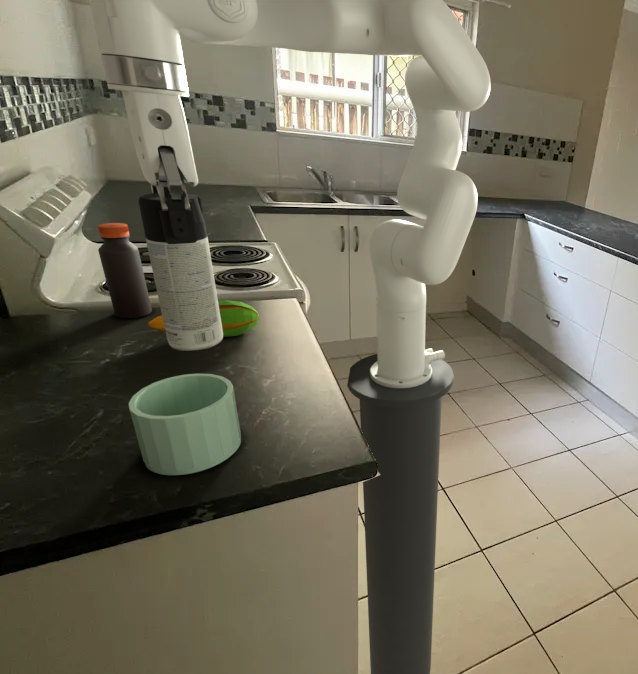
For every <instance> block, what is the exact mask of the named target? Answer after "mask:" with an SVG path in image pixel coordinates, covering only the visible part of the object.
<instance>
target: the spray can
mask: <svg viewBox="0 0 638 674" xmlns="http://www.w3.org/2000/svg"><path fill="white" fill-rule="evenodd" d="M187 196H188V200H189V204H190V209H191V210H192V214H193V219H194V225H195V231H196V237H197V242H195V243H185V244H167V243H166V241H165V236H164V231H163V226H162V221H161V216H160V211H159V210H162V207H161V203H160V199H159V194H158V193H152V192H151V193H147V194H144V195H142V196H139V197H138V207H139V210H140V217H141V222H142V227H143V231H144V236H145V243H146V246H147V251H148V256H149V261H150V265H151V266H150V267H151V270H152V274H153V279H154V284H155V289H156V293H157V298H158V302H159V307H160V312H161V315H162V317H163V322H164V326H165V331H166V332H165V331H164V332H165V337H166V336H167V338H166V340H167V343H168V346H170V348H172V349H173V350H176V351H181V352H182V351H183V352H184V351H185V352H187V351H188V352H189V351H199V350H206V349H210V348H212V347H214V346H217V345H218V344H220V343H221V342H222V341H223V339H224V337H223V329H222V323H221V317H220V311H219V305H218V301H219V300H218V299H219V298H218V293H217V287H216V281H215V274H214V268H213V261H212V256H211V250H210V243H209V237H208V231H207V227H206V222H205V221H206V220H205V216H204V210H203V204H202V199H201V197H200V196H199V195H196V194H192V193H187Z"/></svg>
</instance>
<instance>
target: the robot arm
mask: <svg viewBox="0 0 638 674" xmlns="http://www.w3.org/2000/svg"><path fill="white" fill-rule="evenodd" d="M88 3H89V6H90V11H91V16H92V20H93V25H94V30H95V34H96V38H97V43H98V49H99V52H100V57H101V61H102V62H101V63H102V66H103V71H104V75H105V79H106V80H105V81H106V83H107V84H106V85H107V89H108V90H114V91H122V97H123V101H124V107H125V112H126V116H127V120H128V124H129V125H128V126H129V128H130V134H131V138H132V142H133V146H134V150H135V153H136V157H137V160H138V163H139V167H140V169H141V172H142V175H143V177H144V179H145V180H146V181H147V182H148V183H149V184H150V188H151V193H158V194H159V199H160V203H161V207H162V210H159V211H160V216H161V221H162V226H163V231H164V236H165V241H166V243H167V244H185V243H195V242H197V237H196V231H195V225H194V219H193V214H192V210H191V209H190V204H189V200H188V196H187V194H188V192H187V187H186V183H188V185H189V186H190V187H196V186H198V184H199V177H198V172H197V168H196V167H197V166H196V162H195V157H194V153H193V148H192V142H191V138H190V132H189V126H188V123H187V118H186V115H185V110H184V107H183V103H182V99H181V97H183V98H184V97H185V98H190V93H189V87H188V81H187V75H186V68H185V62H184V55H183V49H182V41H181V37H182V38H183V39H185V40H188V41H190V42H192V43H196V44H202V45H203V44H204V45H222V46H223V45H224V46H237V47H238V46H239V47H254V48H255V47H257V48H272V49H273V48H274V49H286V50H293V51H299V52H308V53H327V54H345V55H346V54H350V55H367V56H379V57H415V58H413V59H412V60H411V61H410V62H409V63H408V65H407V67H406V70H405V74H404V81H405V82H404V83H405V89H406V92H407V95H408V97H409V100H410V103H411V105H412V107H413V109H414V115H415V118H416V127H417V129H416V136H415V139H414V142H413V144H412V145H413V146H412V148H411V151H410V153H409V156H408V159H407V162H406V164H405V167H404V169H403V173H402V175H401V178H400V181H399V184H398V187H397V191H396V201H397V204H398V206H399V207H400V209H402V210H403V211H404V212H405V213H406V214H408V215H410V216H413V217H416V218H417V219H418V218H419V219H422V220H425V222H424V225H423V226H422V225H420V224H418V223H414V222H411V221H407V220H404V219H388V220H385V221H383V222H381V223H380V224H378V225H377V226H376V228H375V229H374V230H373V232H372V234H371V238H370V241H369V253H370V255H369V256H370V259H371V264H372V269H373V274H374V281H375V297H376V298H375V302H376V304H375V306H376V307H375V309H376V311H375V312H376V354H377V358H378V361H377V362H376V363H374V364H373V365H372V366H371V368H370V377H371V379H372V380H373V381H374V382H376V383H377V384H379V385H382V386H385V387H389V388H411V387H415V386H419V385H421V384H423V383H425V382H427V381H428V380H429V379H430V378H431V375H432V368H431V366H430V364H431V363H432V362H433V361H435V360H436V361H437V360H440V359H442V360H444V359H445V358H446V354H445V351H444V350H443V349H441V350H437V351H434V349H433V348H426V326H427V325H426V324H427V323H426V321H427V320H426V318H427V317H426V316H427V289H426V285H427V286H428V285H429V286H437V285H440V284H442V283H443V282H445V281H446V280H447V279H448V278H449V277H450V276H451V275H452V273H453V271H454V270H455V268H456V266H457V264H458V262H459V259H460V257H461V254H462V252H463V249H464V246H465V244H466V241H467V238H468V236H469V233H470V231H471V229H472V226H473V222H474V220H475V217H476V215H477V209H478V200H479V199H478V190H477V187H476V185H475V183H474V181H473V180H472V178H471V177H470V176H469V175H468V174H466V173H464V172H462V171H459V170H456V169H457V167H458V164H459V160H460V157H461V155H462V152H463V151H462V150H463V135H462V134H463V133H462V129H461V127H460V123H459V120H458V117H457V113H456V112H460V113H461V112H462V113H470V112H474V111H477V110H479V109H481V108H482V107H483V106H484V105H485V104H486V103H487V100H488V99H489V96H490V93H491V87H492V86H491V84H492V83H491V76H490V71H489V69H488V66H487V63H486V62H485V60H484V58H483V56H482V54H481V53H480V52H479V50H478V48H477V47H476V46H475V44H474V42H473V41H472V39H471V37H470V36H469V35H468V33H467V32H466V30H465V29H464V27H463V26H462V24H461V22H460V21H459V19H458V18H457V17H456V15H455V14H454V12H453V11H452V10H451V8H450V7H449V6H448V4H446V2H445V1H444V0H88ZM185 182H186V183H185Z"/></svg>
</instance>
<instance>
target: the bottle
mask: <svg viewBox="0 0 638 674" xmlns="http://www.w3.org/2000/svg"><path fill="white" fill-rule="evenodd" d="M97 229H98V232H99V235H100V238H101V240H103V243H102V244H101V245H100V247H98V255H99V258H100V263H101V267H102V271H103V274H104V277H105V282H106V286H107V289H108V293H109V298H110V300H111V305H112V308H113V312H114V316H115V317H117V318H120V319H137V318H142V317H146V316H148V315H150V314H151V313H152V312H153V308H152V304H151V300H150V295H149V291H148V286H147V282H146V277H145V272H144V267H143V264H142V259H141V255H140V251H139V247H138V246H137V245H135V244H134V243H133V242H131V241H130V240H129V238H131V237H130V231H129V226H128V224H127V223H123V222H107V223H101V224H97Z"/></svg>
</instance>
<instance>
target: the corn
mask: <svg viewBox="0 0 638 674" xmlns="http://www.w3.org/2000/svg"><path fill="white" fill-rule="evenodd" d="M218 305H219V311H220V317H221V323H222V329H223V338H230V337H236V336H237V337H238V336H241V335H243V334H245V333H247V332H249V331H251V330H252V329H253V328H254V327H255V326H257V324H258V322H259V320H260V319H259V318H260V316H259V312H258V311H257V310H256V309H255V308H254V307H253V306H251V305H249V304H247V303H245V302H242V301H240V300H239V301H237V300H227V299H222V300H221V299H219V300H218ZM147 325H148V326H149V328H151V329H154V330H155V331H160V332H165V333H166V331H165V326H164V322H163V317H162V314H161V315H159V316H156V317H155V318H153V319H152V320H150V321H149V322H147ZM165 339H167V336H166V335H165Z"/></svg>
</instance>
